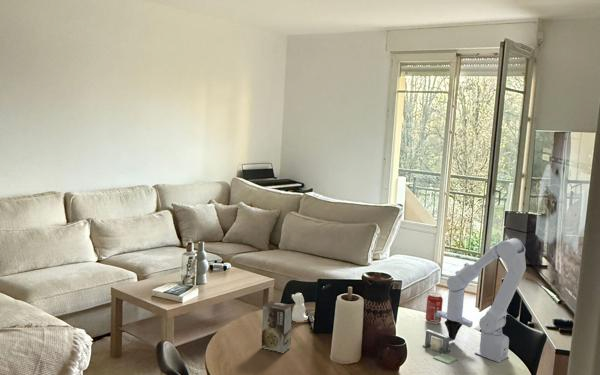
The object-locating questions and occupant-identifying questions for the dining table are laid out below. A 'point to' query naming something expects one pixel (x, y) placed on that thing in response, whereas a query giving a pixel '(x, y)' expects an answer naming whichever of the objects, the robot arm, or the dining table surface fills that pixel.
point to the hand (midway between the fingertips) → (452, 339)
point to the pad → (445, 358)
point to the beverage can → (433, 308)
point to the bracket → (440, 336)
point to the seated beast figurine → (298, 308)
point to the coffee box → (276, 326)
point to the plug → (437, 343)
